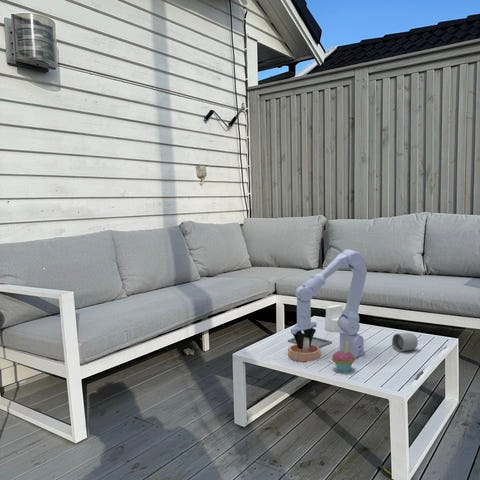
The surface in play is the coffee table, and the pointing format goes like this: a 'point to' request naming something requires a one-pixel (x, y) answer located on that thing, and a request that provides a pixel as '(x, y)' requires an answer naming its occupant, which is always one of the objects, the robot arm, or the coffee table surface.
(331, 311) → the grey white cylinder
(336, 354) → the cupcake
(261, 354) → the coffee table surface
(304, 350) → the smooth grey cylinder
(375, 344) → the coffee table surface
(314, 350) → the terracotta bowl
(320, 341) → the parts tray
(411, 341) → the ceramic mug
